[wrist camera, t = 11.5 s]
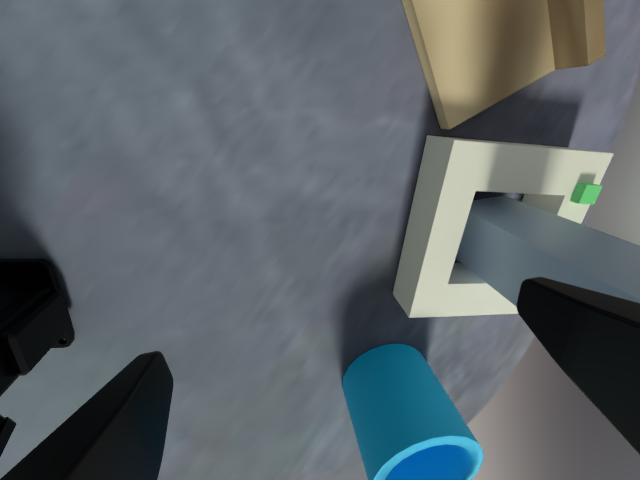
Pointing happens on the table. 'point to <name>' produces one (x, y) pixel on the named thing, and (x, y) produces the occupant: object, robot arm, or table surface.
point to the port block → (454, 206)
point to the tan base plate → (498, 47)
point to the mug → (407, 419)
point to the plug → (544, 250)
